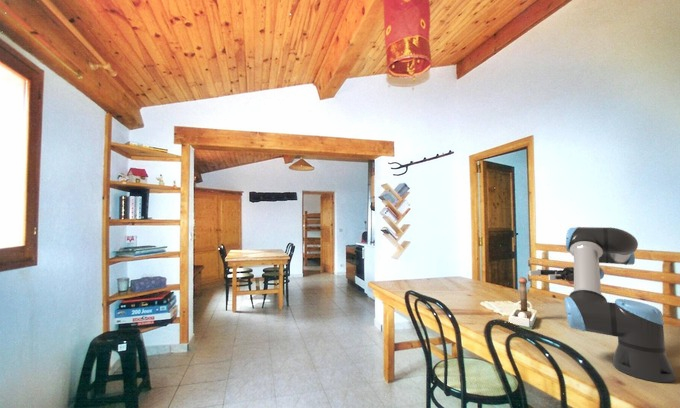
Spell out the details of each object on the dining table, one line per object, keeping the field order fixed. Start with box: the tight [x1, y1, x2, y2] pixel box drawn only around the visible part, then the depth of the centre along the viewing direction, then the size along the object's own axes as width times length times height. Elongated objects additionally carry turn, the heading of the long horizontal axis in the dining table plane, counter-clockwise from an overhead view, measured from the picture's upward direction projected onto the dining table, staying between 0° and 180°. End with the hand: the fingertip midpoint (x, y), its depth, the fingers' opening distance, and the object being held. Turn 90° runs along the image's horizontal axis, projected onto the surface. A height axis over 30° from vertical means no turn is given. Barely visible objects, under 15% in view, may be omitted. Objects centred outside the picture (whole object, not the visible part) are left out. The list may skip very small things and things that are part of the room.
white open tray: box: [508, 308, 537, 330], centre depth 156 cm, size 20×10×4 cm, turn 142°
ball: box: [518, 312, 527, 318], centre depth 156 cm, size 4×4×4 cm
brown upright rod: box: [516, 276, 533, 319], centre depth 162 cm, size 5×7×21 cm
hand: (539, 275), depth 165 cm, fingers open, 13 cm apart
